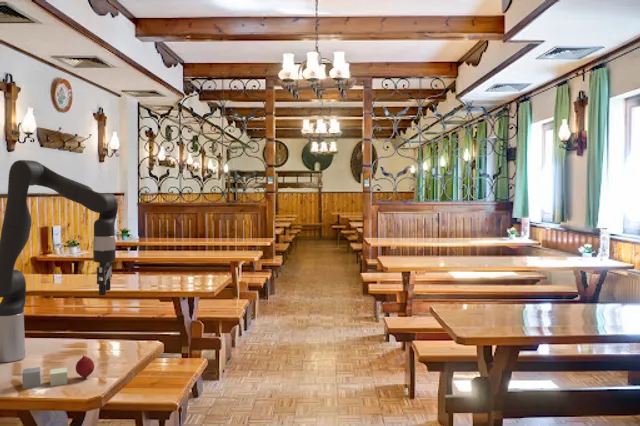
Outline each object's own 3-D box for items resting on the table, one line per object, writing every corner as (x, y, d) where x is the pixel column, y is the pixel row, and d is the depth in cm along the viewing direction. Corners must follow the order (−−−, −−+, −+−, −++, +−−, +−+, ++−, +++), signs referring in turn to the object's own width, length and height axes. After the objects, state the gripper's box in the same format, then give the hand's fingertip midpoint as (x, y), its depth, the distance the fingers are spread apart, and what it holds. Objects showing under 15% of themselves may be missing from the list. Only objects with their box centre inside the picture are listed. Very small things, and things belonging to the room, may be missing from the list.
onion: (98, 376, 191) (97, 352, 191) (86, 381, 186) (85, 357, 185) (84, 374, 193) (83, 351, 192) (72, 379, 187) (71, 356, 187)
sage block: (50, 386, 182) (50, 374, 182) (50, 381, 187) (50, 369, 186) (67, 383, 184) (66, 372, 184) (67, 379, 189) (67, 367, 188)
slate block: (22, 389, 180) (22, 373, 179) (23, 384, 184) (23, 369, 184) (40, 386, 182) (39, 371, 181) (40, 381, 186) (40, 366, 186)
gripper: (97, 246, 209) (98, 289, 210) (88, 251, 195) (89, 297, 196) (118, 245, 210) (119, 288, 211) (111, 250, 196) (111, 296, 197)
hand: (104, 292), depth 203 cm, fingers open, 8 cm apart
